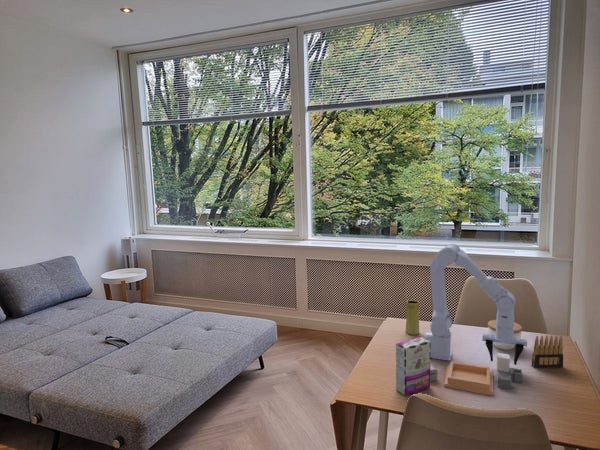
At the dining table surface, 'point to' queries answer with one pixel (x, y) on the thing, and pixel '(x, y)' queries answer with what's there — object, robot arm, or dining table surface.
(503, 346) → the lidded bowl
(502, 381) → the clip
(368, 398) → the dining table surface
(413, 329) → the vase
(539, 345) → the ammunition clip
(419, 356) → the candy bar box
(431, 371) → the usb wall charger
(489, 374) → the wooden tray
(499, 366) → the plain white rectangular block
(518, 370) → the clip
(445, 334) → the robot arm
